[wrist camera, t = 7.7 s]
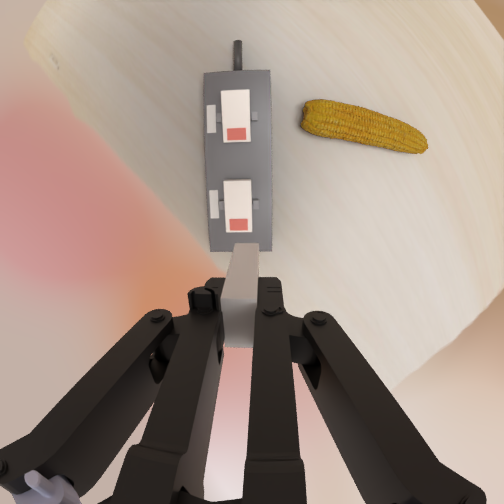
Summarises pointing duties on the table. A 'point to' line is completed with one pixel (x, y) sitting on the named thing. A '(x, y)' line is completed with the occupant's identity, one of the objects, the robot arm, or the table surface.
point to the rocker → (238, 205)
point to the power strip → (239, 155)
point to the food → (361, 126)
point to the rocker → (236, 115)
